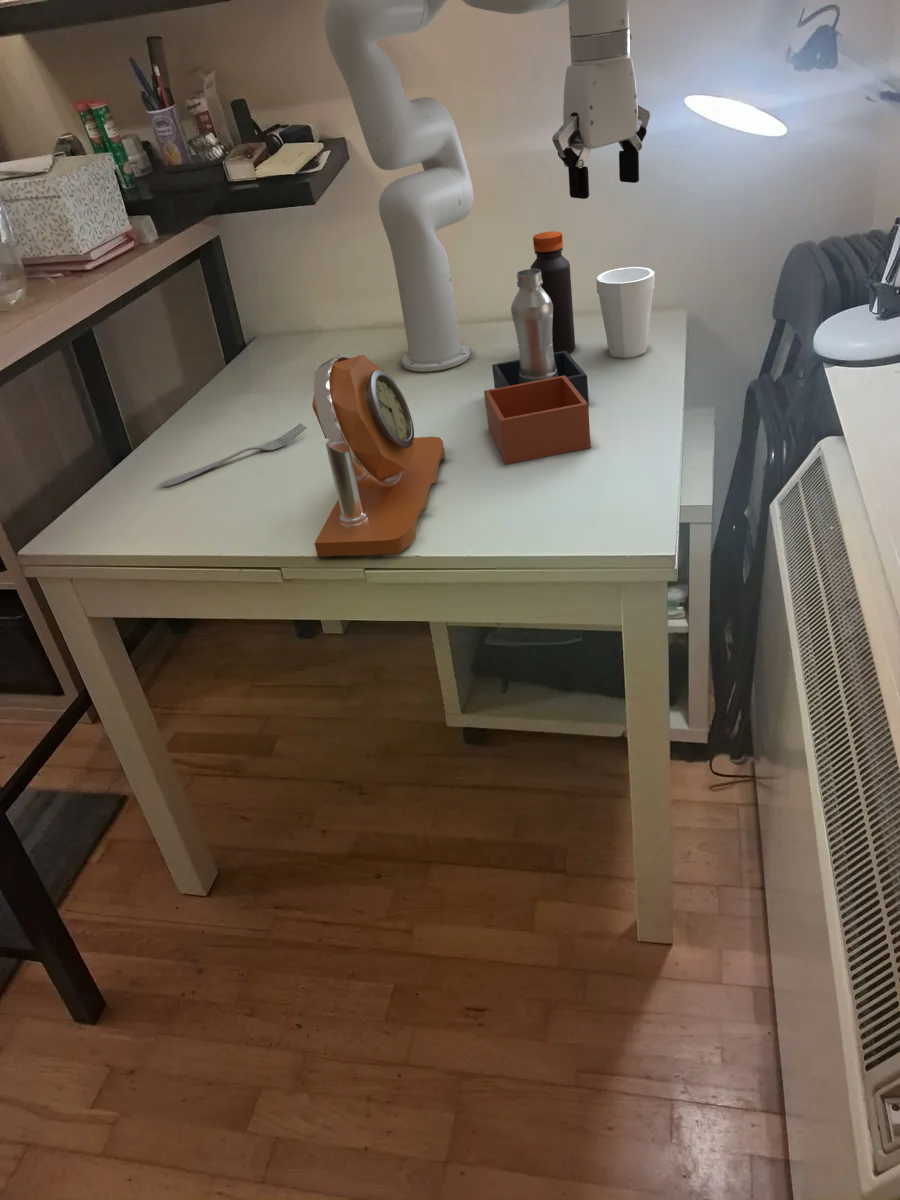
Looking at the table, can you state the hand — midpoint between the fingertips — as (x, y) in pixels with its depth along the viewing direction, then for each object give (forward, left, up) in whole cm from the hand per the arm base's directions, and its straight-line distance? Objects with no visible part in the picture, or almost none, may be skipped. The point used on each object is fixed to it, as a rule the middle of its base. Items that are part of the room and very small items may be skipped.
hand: (604, 189), depth 131 cm
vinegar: (-25, -3, -31) cm, 40 cm away
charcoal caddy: (-4, -11, -30) cm, 33 cm away
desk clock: (+21, -38, -31) cm, 53 cm away
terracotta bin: (+11, -15, -30) cm, 35 cm away
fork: (-3, -60, -31) cm, 67 cm away
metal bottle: (-4, -11, -31) cm, 33 cm away
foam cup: (-18, +8, -31) cm, 37 cm away
